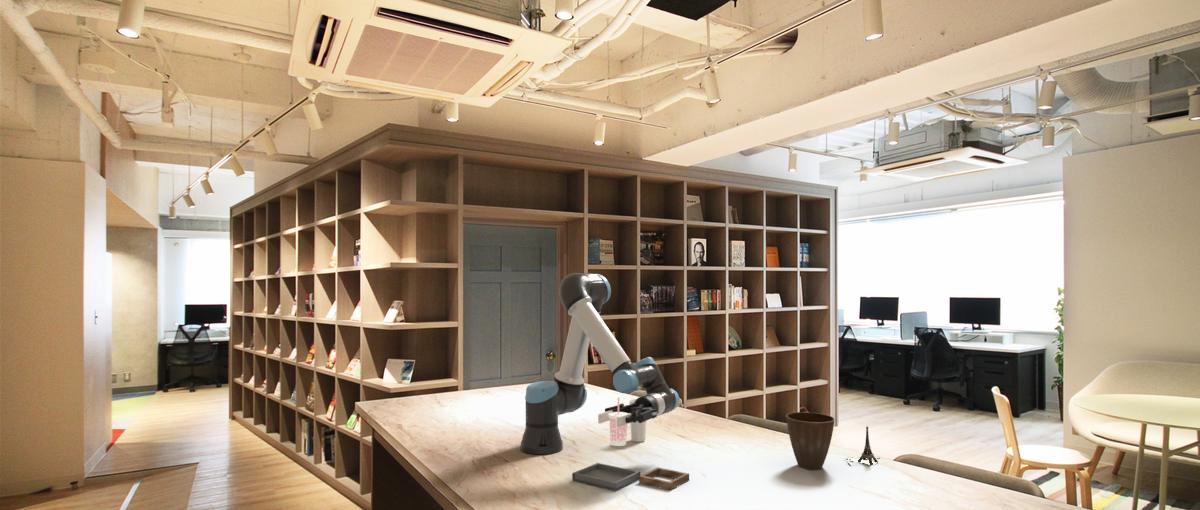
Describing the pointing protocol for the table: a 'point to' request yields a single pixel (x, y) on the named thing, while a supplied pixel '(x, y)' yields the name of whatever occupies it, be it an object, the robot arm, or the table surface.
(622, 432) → the beverage cup
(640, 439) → the white tumbler
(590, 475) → the tray
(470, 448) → the table surface
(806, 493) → the table surface
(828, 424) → the plant pot
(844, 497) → the table surface
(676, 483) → the holder
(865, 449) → the eiffel tower figurine
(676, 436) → the table surface
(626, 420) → the robot arm
